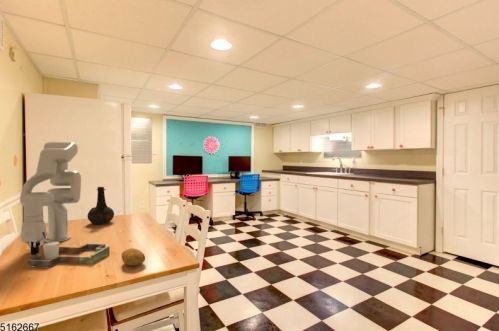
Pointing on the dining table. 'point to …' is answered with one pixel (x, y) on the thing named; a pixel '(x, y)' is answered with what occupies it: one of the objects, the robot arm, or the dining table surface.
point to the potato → (133, 257)
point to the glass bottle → (100, 210)
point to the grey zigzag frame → (100, 253)
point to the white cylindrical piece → (51, 249)
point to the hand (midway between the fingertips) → (34, 254)
